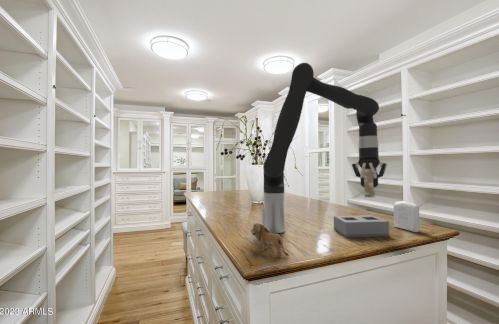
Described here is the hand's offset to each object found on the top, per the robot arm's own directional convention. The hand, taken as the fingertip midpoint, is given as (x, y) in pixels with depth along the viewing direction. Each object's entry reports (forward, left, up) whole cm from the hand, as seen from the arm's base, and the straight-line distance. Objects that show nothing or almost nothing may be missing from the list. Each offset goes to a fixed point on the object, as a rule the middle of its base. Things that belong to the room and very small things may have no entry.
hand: (369, 186), depth 101 cm
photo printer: (+13, +14, -20) cm, 28 cm away
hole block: (-4, -2, -20) cm, 20 cm away
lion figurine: (-27, -42, -20) cm, 54 cm away
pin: (0, 0, -4) cm, 4 cm away
